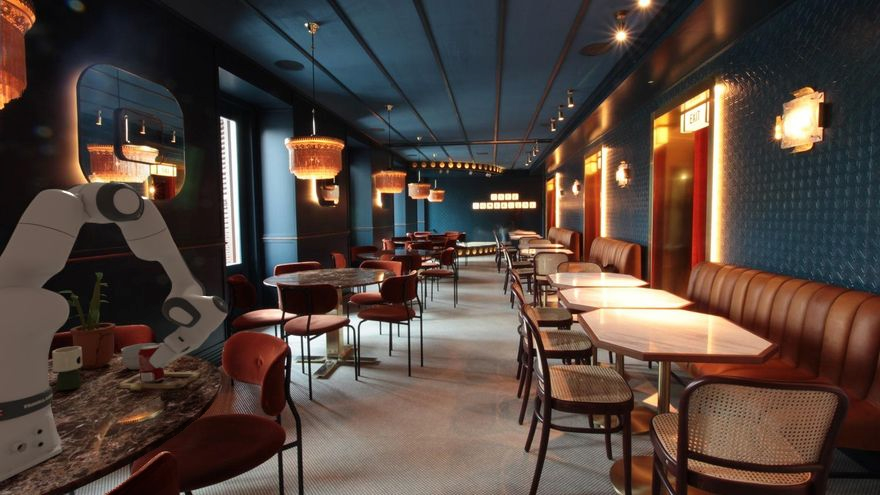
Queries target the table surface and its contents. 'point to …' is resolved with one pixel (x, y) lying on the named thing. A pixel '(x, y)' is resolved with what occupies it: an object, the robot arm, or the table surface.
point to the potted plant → (93, 332)
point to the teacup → (132, 355)
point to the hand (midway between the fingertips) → (162, 365)
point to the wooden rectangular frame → (167, 373)
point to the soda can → (149, 365)
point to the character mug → (67, 367)
